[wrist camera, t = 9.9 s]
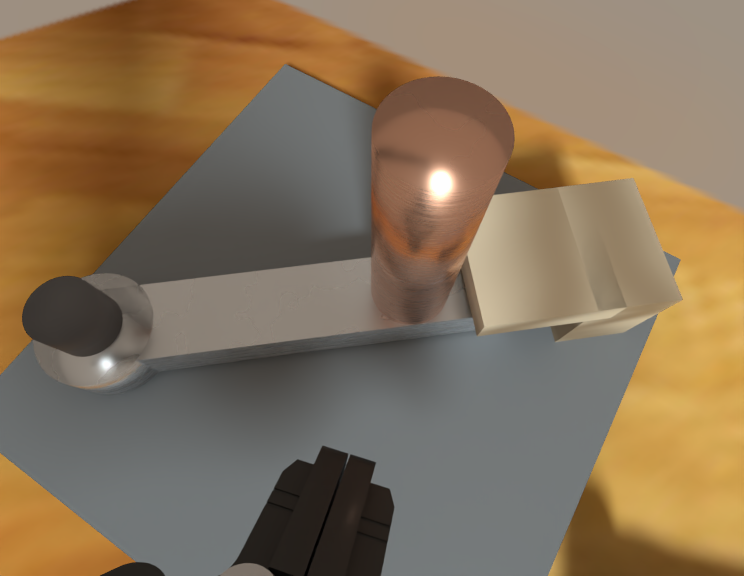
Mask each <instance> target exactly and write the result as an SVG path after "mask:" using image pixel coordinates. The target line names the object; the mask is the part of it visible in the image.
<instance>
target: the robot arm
mask: <svg viewBox="0 0 744 576" xmlns="http://www.w3.org/2000/svg"><path fill="white" fill-rule="evenodd" d="M347 459H348V453H345V452H342V451H339V450H336V449H333V448H330V447H326V446H322V447H321V449H320V452H319V454H318V456H317V458H316V461H315V463H314V464H311V463H308V462H305V461H302V460H299V459H297V460H296V461H295V462H293V463H292V464H291V465H290V466H288V467H287V468H286V469H285V470H283V471H282V473H281V475H280V477H279V479H278V481H277V483H276V485H275V487H274V490H273V491H272V493H271V495H270V496H269V498H268V500H267V503H266V505H265V506H264V508H263V510H262V512H261V514H260V516H259V518H258V520H257V522H256V523H255V525H254V527H253V529H252V531H251V533H250V535H249V537H248V539H247V541H246V543H245V545H244V547H243V549H242V550H241V552H240V554H239V556H238V558H237V559H236V561H235V562H234V563H233V565H232V566H231V567H230V568H228V569H227V570H226V571H224V572H223V573H222V574H220V575H218V576H381V573H382V568H383V563H384V558H385V553H386V548H387V542H388V538H389V533H390V527H391V523H392V518H393V513H394V508H395V507H394V503H393V499H392V495H391V491H390V489H389V488H386V487H383V486H380V485H376V484H373V483H371V479H372V476H373V472H374V468H375V465H376V462H374V461H371V460H368V459H365V458H361V457H358V456H355V455H352V454H350V457H349V459H348V462H347ZM346 463H347V465H346ZM345 467H346V468H345ZM100 576H165V575H164V573H163V572H162V571H161V570H160V569H159V568H158V567H156V566H155V565H152V564H150V563H145V562H134V563H129V564H125V565H122V566H120V567H117V568H115V569H113V570H111V571H109V572H107V573H105V574H102V575H100Z"/></svg>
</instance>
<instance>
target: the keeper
mask: <svg viewBox="0 0 744 576" xmlns="http://www.w3.org/2000/svg"><path fill="white" fill-rule="evenodd" d="M461 270H462V274H463V278H464V283H465V287H466V291H467V296H468V300H469V304H470V309H471V313H472V317H473V322H474V326H475V331H476V335H477V336H484V335H491V334H498V333H505V332H513V331H520V330H527V329H534V328H542V327H549V326H550V327H551V330H552V334H553V337H554V340H555V342H560V341H567V340H574V339H582V338H589V337H596V336H603V335H610V334H617V333H624V332H625V331H627V330H629V329H631V328H633V327H634V326H636V325H638V324H640V323H642V322H643V321H645V320H647V319H649V318H651V317H652V316H654V315H656V314H658V313H660V312H661V311H663V310H665V309H667V308H669V307H670V306H672V305H674V304H676V303H678V302H680V301H681V300H683V299H682V296H681V294H680V291H679V289H678V286H677V284H676V282H675V279H674V277H673V274H672V272H671V269H670V267H669V264H668V262H667V259H666V257H665V255H664V252H663V250H662V247H661V245H660V242H659V240H658V237H657V235H656V232H655V230H654V228H653V225H652V223H651V220H650V218H649V215H648V213H647V210H646V208H645V206H644V203H643V201H642V198H641V196H640V193H639V191H638V188H637V186H636V183H635V181H634V179H633V178H631V179H622V180H614V181H606V182H598V183H589V184H581V185H573V186H565V187H557V188H548V189H540V190H532V191H524V192H515V193H507V194H499V195H493V197H492V199H491V202H490V204H489V206H488V208H487V211H486V213H485V215H484V217H483V220H482V222H481V224H480V226H479V229H478V231H477V233H476V235H475V238H474V240H473V242H472V245H471V247H470V249H469V251H468V254H467V256H466V258H465V260H464V263H463V265H462V267H461Z"/></svg>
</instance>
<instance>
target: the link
mask: <svg viewBox="0 0 744 576" xmlns="http://www.w3.org/2000/svg"><path fill="white" fill-rule="evenodd" d="M513 147H514V129H513V124H512V121H511V119H510V116H509V115H508V113H507V111H506V109H505V108H504V107H503V105H502V104H501V103H500V102H499V101H498V100H497V99H496V98H495V97H494V96H493V95H492V94H490V93H489V92H488V91H486V90H485V89H483V88H481V87H479V86H477V85H475V84H473V83H470V82H468V81H464V80H461V79H457V78H451V77H427V78H421V79H417V80H413V81H411V82H408V83H406V84H404V85H402V86H400V87H398V88H397V89H395V90H394V91H392V92H391V93H390V94H389V95H388V96H387V97H385V99H384V100H383V101H382V102H381V104H380V105H379V107H378V108H377V110H376V113H375V115H374V118H373V122H372V140H371V257H369V258H360V259H352V260H344V261H335V262H327V263H319V264H310V265H302V266H294V267H285V268H277V269H269V270H261V271H252V272H244V273H236V274H227V275H219V276H211V277H202V278H194V279H186V280H177V281H169V282H161V283H152V284H144V285H139V284H137V283H136V282H135V281H133V280H131V279H129V278H127V277H125V276H122V275H118V274H111V273H101V274H94V275H89V276H86V277H83V278H81V279H83V280H85V281H86V282H88V283H89V284H91V285H92V286H94V287H95V288H97V289H98V290H100V291H101V292H103V293H104V294H106V295H107V296H109V297H110V298H112V299H113V300H114V301H115V302H116V303H117V304H118V305H119V307H120V309H121V311H122V316H123V322H122V327H121V330H120V333H119V335H118V336H117V338H116V339H115V341H114V342H113V343H112V344H111V345H110V346H109V347H108V348H106V349H105V350H103V351H102V352H100V353H98V354H95V355H92V356H87V357H77V356H73V355H70V354H68V353H65V352H63V351H60V350H58V349H55V348H53V347H50V346H48V345H45V344H42V343H40V342H37V341H35V340H34V339H33V346H34V352H35V356H36V359H37V361H38V363H39V365H40V366H41V368H42V369H43V370H44V371H45V372H46V374H48V375H49V376H50V377H51V378H53V379H55V380H57V381H58V382H61V383H64V384H67V385H70V386H74V387H77V388H81V389H84V390H87V391H91V392H94V393H99V394H105V395H114V394H121V393H125V392H128V391H132V390H134V389H136V388H138V387H140V386H142V385H143V384H145V383H146V382H148V381H149V380H150V379H151V378H153V377H154V376H155V375H156V374H157V373H158V372H159V371H167V370H175V369H182V368H190V367H198V366H205V365H213V364H221V363H229V362H236V361H244V360H252V359H259V358H267V357H275V356H282V355H290V354H298V353H306V352H313V351H321V350H329V349H336V348H344V347H352V346H360V345H367V344H375V343H383V342H390V341H398V340H406V339H413V338H421V337H429V336H437V335H444V334H452V333H460V332H467V331H475V326H474V322H473V317H472V313H471V309H470V304H469V300H468V296H467V291H466V287H465V283H464V278H463V274H462V270H461V267H462V265H463V263H464V260H465V258H466V256H467V254H468V251H469V249H470V247H471V245H472V242H473V240H474V238H475V235H476V233H477V231H478V229H479V226H480V224H481V222H482V220H483V217H484V215H485V213H486V211H487V208H488V206H489V204H490V202H491V199H492V197H493V195H494V193H495V190H496V188H497V186H498V184H499V181H500V179H501V177H502V175H503V172H504V170H505V168H506V165H507V163H508V161H509V159H510V156H511V154H512V151H513Z"/></svg>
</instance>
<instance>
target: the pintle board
mask: <svg viewBox="0 0 744 576" xmlns="http://www.w3.org/2000/svg"><path fill="white" fill-rule="evenodd" d="M376 110H377V109H375V108H373V107H371V106H369V105H367V104H365V103H363V102H361V101H359V100H357V99H355V98H353V97H351V96H349V95H347V94H345V93H343V92H341V91H339V90H337V89H335V88H333V87H331V86H329V85H327V84H325V83H323V82H321V81H319V80H317V79H315V78H313V77H310V76H308V75H306V74H304V73H302V72H300V71H298V70H296V69H294V68H292V67H290V66H288V65H286V64H285V65H284V66H283V67H282V68H281V69H280V70H279V71H278V73H277V74H276V75H275V76H274V77H273V78H272V79H271V80H270V81H269V82H268V83H267V85H266V86H265V87H264V88H263V89H262V90H261V91H260V92H259V93H258V94H257V95H256V97H255V98H254V99H253V100H252V101H251V102H250V103H249V104H248V105H247V106H246V107H245V109H244V110H243V111H242V112H241V113H240V114H239V115H238V116H237V117H236V118H235V119H234V121H233V122H232V123H231V124H230V125H229V126H228V127H227V128H226V129H225V130H224V131H223V133H222V134H221V135H220V136H219V137H218V138H217V139H216V140H215V141H214V142H213V143H212V145H211V146H210V147H209V148H208V149H207V150H206V151H205V152H204V153H203V154H202V155H201V157H200V158H199V159H198V160H197V161H196V162H195V163H194V164H193V165H192V166H191V168H190V169H189V170H188V171H187V172H186V173H185V174H184V175H183V176H182V177H181V178H180V180H179V181H178V182H177V183H176V184H175V185H174V186H173V187H172V188H171V189H170V190H169V192H168V193H167V194H166V195H165V196H164V197H163V198H162V199H161V200H160V201H159V202H158V204H157V205H156V206H155V207H154V208H153V209H152V210H151V211H150V212H149V213H148V214H147V216H146V217H145V218H144V219H143V220H142V221H141V222H140V223H139V224H138V225H137V226H136V228H135V229H134V230H133V231H132V232H131V233H130V234H129V235H128V236H127V237H126V238H125V240H124V241H123V242H122V243H121V244H120V245H119V246H118V247H117V248H116V249H115V250H114V252H113V253H112V254H111V255H110V256H109V257H108V258H107V259H106V260H105V261H104V262H103V264H102V265H101V266H100V267H99V268H98V269H97V270H96V271H95V272H94V273H93V275H94V274H101V273H111V274H118V275H122V276H125V277H127V278H129V279H131V280H133V281H135V282H136V283H137V284H139V285H144V284H152V283H161V282H169V281H177V280H186V279H194V278H202V277H211V276H219V275H227V274H236V273H244V272H252V271H261V270H269V269H277V268H285V267H294V266H302V265H310V264H319V263H327V262H335V261H344V260H352V259H360V258H369V257H371V140H372V122H373V118H374V115H375V113H376ZM532 190H539V189H537V188H535V187H533V186H531V185H529V184H527V183H525V182H523V181H521V180H519V179H517V178H515V177H513V176H511V175H509V174H507V173H505V172H503V175H502V177H501V179H500V181H499V184H498V186H497V188H496V190H495V193H494V195H499V194H507V193H515V192H524V191H532ZM663 252H664V251H663ZM664 255H665V257H666V259H667V262H668V264H669V267H670V269H671V272H672V274H673V277H674V274H675V272H676V270H677V267H678V265H679V262H680V259H678V258H676V257H674V256H672V255H670V254H668V253H666V252H664ZM657 315H658V314H656V315H654V316H652V317H651V318H649V319H647V320H645V321H643V322H642V323H640V324H638V325H636V326H634V327H633V328H631V329H629V330H627V331H625V332H624V333H617V334H610V335H603V336H596V337H589V338H582V339H574V340H567V341H560V342H555V340H554V337H553V334H552V330H551V327H550V326H549V327H542V328H534V329H527V330H520V331H513V332H505V333H498V334H491V335H484V336H477V335H476V331H467V332H460V333H452V334H444V335H437V336H429V337H421V338H413V339H406V340H398V341H390V342H383V343H375V344H367V345H360V346H352V347H344V348H336V349H329V350H321V351H313V352H306V353H298V354H290V355H282V356H275V357H267V358H259V359H252V360H244V361H236V362H229V363H221V364H213V365H205V366H198V367H190V368H182V369H175V370H167V371H159V372H158V373H157V374H156V375H155V376H154V377H153V378H151V379H150V380H149V381H148V382H146V383H145V384H143V385H142V386H140V387H138V388H136V389H134V390H132V391H128V392H125V393H121V394H114V395H105V394H99V393H94V392H91V391H87V390H84V389H81V388H77V387H74V386H70V385H67V384H64V383H61V382H58V381H57V380H55V379H53V378H51V377H50V376H49V375H48V374H46V372H45V371H44V370H43V369H42V368H41V366H40V365H39V363H38V361H37V359H36V356H35V352H34V346H33V340H32V341H31V342H30V343H29V344H28V345H27V347H26V348H25V349H24V350H23V351H22V352H21V353H20V354H19V355H18V356H17V357H16V359H15V360H14V361H13V362H12V363H11V364H10V365H9V366H8V367H7V368H6V369H5V371H4V372H3V373H2V374H1V375H0V453H1V454H2V455H4V456H5V457H6V458H7V459H9V460H10V461H11V462H12V463H14V464H15V465H16V466H17V467H19V468H20V469H21V470H22V471H23V472H25V473H26V474H27V475H28V476H30V477H31V478H32V479H33V480H35V481H36V482H37V483H38V484H40V485H41V486H42V487H43V488H45V489H46V490H47V491H48V492H50V493H51V494H52V495H53V496H55V497H56V498H57V499H58V500H60V501H61V502H62V503H63V504H65V505H66V506H67V507H68V508H70V509H71V510H72V511H73V512H75V513H76V514H77V515H78V516H80V517H81V518H82V519H83V520H85V521H86V522H87V523H88V524H89V525H91V526H92V527H93V528H94V529H96V530H97V531H98V532H99V533H101V534H102V535H103V536H104V537H106V538H107V539H108V540H109V541H111V542H112V543H113V544H114V545H116V546H117V547H118V548H119V549H121V550H122V551H123V552H124V553H126V554H127V555H128V556H129V557H131V558H132V559H133V560H134V561H136V562H145V563H150V564H152V565H155V566H156V567H158V568H159V569H160V570H161V571H162V572H163V573H164V575H165V576H218V575H220V574H222V573H223V572H224V571H226V570H227V569H228V568H230V567H231V566H232V565H233V563H234V562H235V561H236V559H237V558H238V556H239V554H240V552H241V550H242V549H243V547H244V545H245V543H246V541H247V539H248V537H249V535H250V533H251V531H252V529H253V527H254V525H255V523H256V522H257V520H258V518H259V516H260V514H261V512H262V510H263V508H264V506H265V505H266V503H267V500H268V498H269V496H270V495H271V493H272V491H273V490H274V487H275V485H276V483H277V481H278V479H279V477H280V475H281V473H282V471H283V470H285V469H286V468H287V467H288V466H290V465H291V464H292V463H293V462H295V461H296V460H297V459H299V460H302V461H305V462H308V463H311V464H314V463H315V461H316V458H317V456H318V454H319V452H320V449H321V447H322V446H326V447H330V448H333V449H336V450H339V451H342V452H345V453H348V459H349V457H350V454H352V455H355V456H358V457H361V458H365V459H368V460H371V461H374V462H376V465H375V468H374V472H373V476H372V479H371V483H373V484H376V485H380V486H383V487H386V488H389V489H390V491H391V495H392V499H393V503H394V507H395V508H394V513H393V518H392V523H391V527H390V533H389V538H388V542H387V548H386V553H385V558H384V563H383V568H382V573H381V576H548V574H549V571H550V569H551V567H552V564H553V562H554V560H555V557H556V555H557V552H558V550H559V548H560V545H561V543H562V541H563V538H564V536H565V533H566V531H567V529H568V526H569V524H570V521H571V519H572V517H573V514H574V512H575V510H576V507H577V505H578V502H579V500H580V498H581V495H582V493H583V491H584V488H585V486H586V483H587V481H588V479H589V476H590V474H591V472H592V469H593V467H594V464H595V462H596V460H597V457H598V455H599V453H600V450H601V448H602V445H603V443H604V441H605V438H606V436H607V434H608V431H609V429H610V426H611V424H612V422H613V419H614V417H615V415H616V412H617V410H618V407H619V405H620V403H621V400H622V398H623V396H624V393H625V391H626V388H627V386H628V384H629V381H630V379H631V377H632V374H633V372H634V369H635V367H636V365H637V362H638V360H639V358H640V355H641V353H642V350H643V348H644V346H645V343H646V341H647V339H648V336H649V334H650V331H651V329H652V327H653V324H654V322H655V320H656V317H657ZM22 322H23V326H24V329H25V331H26V333H27V334H28V335H29V336H30V337H31V338H32V339H34V340H35V341H37V342H40V343H42V344H45V345H48V346H50V347H53V348H55V349H58V350H60V351H63V352H65V353H68V354H70V355H73V356H77V357H87V356H92V355H95V354H98V353H100V352H102V351H103V350H105V349H106V348H108V347H109V346H110V345H111V344H112V343H113V342H114V341H115V339H116V338H117V336H118V335H119V333H120V330H121V327H122V322H123V316H122V311H121V309H120V307H119V305H118V304H117V303H116V302H115V301H114V300H113V299H112V298H110V297H109V296H107V295H106V294H104V293H103V292H101V291H100V290H98V289H97V288H95V287H94V286H92V285H91V284H89V283H88V282H86V281H85V280H83V279H81V278H78V277H74V276H62V277H57V278H54V279H51V280H49V281H47V282H45V283H44V284H42V285H41V286H39V287H38V288H37V289H36V290H35V291H34V292H33V293H32V294H31V295H30V297H29V298H28V300H27V302H26V304H25V306H24V309H23V314H22ZM348 459H347V462H348ZM346 465H347V463H346ZM345 468H346V467H345Z"/></svg>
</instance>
